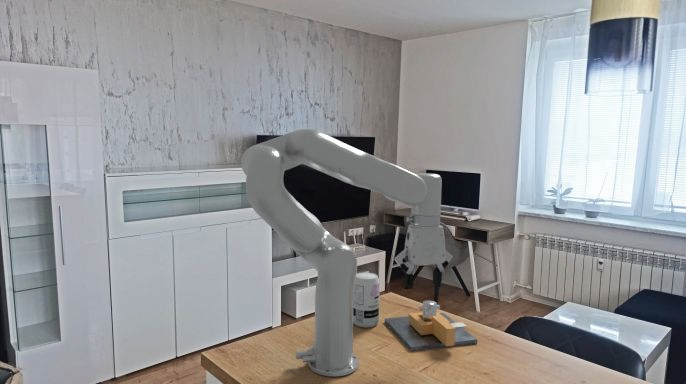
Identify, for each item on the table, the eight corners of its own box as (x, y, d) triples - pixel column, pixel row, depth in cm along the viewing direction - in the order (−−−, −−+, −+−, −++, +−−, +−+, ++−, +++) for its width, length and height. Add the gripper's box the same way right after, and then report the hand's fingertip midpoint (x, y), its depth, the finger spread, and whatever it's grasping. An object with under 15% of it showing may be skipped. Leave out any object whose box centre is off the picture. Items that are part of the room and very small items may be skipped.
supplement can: (353, 317, 147) (354, 271, 145) (379, 318, 146) (380, 272, 144) (350, 327, 139) (351, 279, 137) (377, 329, 138) (379, 280, 136)
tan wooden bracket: (435, 348, 122) (435, 330, 122) (408, 322, 139) (409, 306, 139) (465, 344, 125) (466, 327, 124) (435, 319, 142) (436, 304, 141)
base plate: (411, 351, 124) (412, 319, 123) (384, 322, 143) (385, 294, 142) (482, 342, 130) (484, 311, 129) (448, 316, 149) (449, 288, 148)
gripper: (400, 224, 115) (397, 293, 117) (462, 222, 120) (459, 288, 122) (389, 219, 122) (387, 284, 124) (448, 217, 127) (445, 279, 129)
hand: (422, 285), depth 123 cm, fingers open, 7 cm apart
